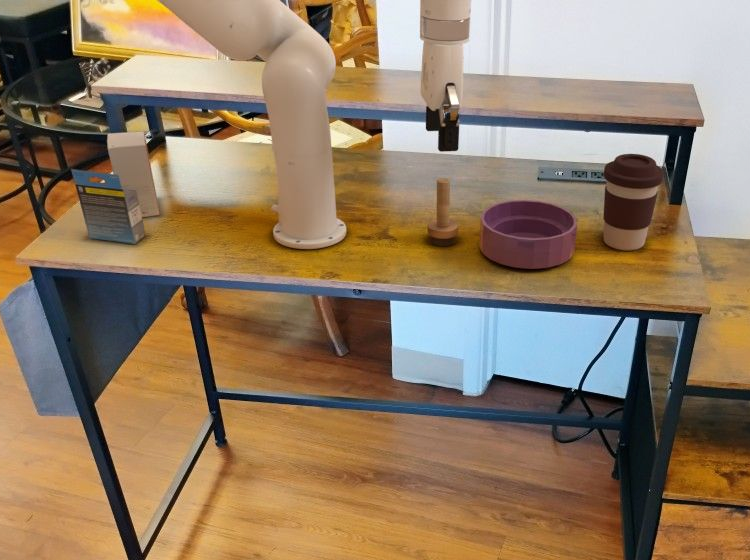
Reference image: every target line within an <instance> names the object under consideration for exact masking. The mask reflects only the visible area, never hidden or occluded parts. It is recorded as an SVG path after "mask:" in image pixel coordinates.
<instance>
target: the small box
mask: <svg viewBox="0 0 750 560" xmlns="http://www.w3.org/2000/svg"><path fill="white" fill-rule="evenodd" d="M106 144H107V151H108V157H109V160H110V161H109V162H110V165H111V169H112V174H117V175H119V179H120V183H121V186H122V188H123V189H130V190H136V192H137V197H138V202H139V206H140V211H141V215H142V218H147V217H154V216H155V217H156V216H159V215H160V208H159V203H158V196H157V192H156V191H157V190H156V185H155V180H154V176H153V170H152V165H151V161H150V155H149V149H148V144H147V139H146V133H145V131H129V132H127V131H126V132H113V133H107V139H106Z"/></svg>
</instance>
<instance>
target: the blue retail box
mask: <svg viewBox="0 0 750 560" xmlns="http://www.w3.org/2000/svg"><path fill="white" fill-rule="evenodd" d="M70 171H71V173H72V178H73V182H74V185H75V186H74V187H75V190H76V192H77V196H78V200H79V204H80V208H81V211H82V215H83V219H84V223H85V227H86V231H87V234H88V238H89V239H91V240H101V241H108V242H109V241H110V242H117V243H125V244H130V245H131V244H132V245H136V244H138V243H139V242H140V241H141V240H143V239H144V238H145V237H146V231H145V230H146V229H145V226H144V220H143V217H142V215H141V211H140V206H139V202H138V197H137V192H136V190H130V189H123V188H122V186H121V183H120V179H119V175H117V174H113V173H107V172H106V173H105V172H98V171H91V170H81V169H75V168H70ZM95 178H97V179H98V180H103V181H104V182H100V181H91V180H90V179H95Z"/></svg>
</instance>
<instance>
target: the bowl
mask: <svg viewBox="0 0 750 560" xmlns="http://www.w3.org/2000/svg"><path fill="white" fill-rule="evenodd" d="M577 230H578V218H577V217H576V215H574V213H573V212H571V211H570V210H568V209H567V208H565V207H563V206H561V205H557V204H555V203H552V202H547V201H541V200H534V199H533V200H532V199H515V200H514V199H513V200H505V201H501V202H497V203H494V204H491V205H490V206H487V207H486V208H485V209H484V210H483V211H482V212H481V214H480V218H479V239H478V241H479V243H478V244H479V245H478V247H479V249H480V251H481V253H482V254H483V255H484V256H485V257H487V258H488V259H489V260H491V261H493V262H495V263H498V264H500V265H503V266H506V267H507V266H508V267H511V268H516V269H525V270H526V269H527V270H534V269H536V270H537V269H548V268H551V267H557V266H559V265H562V264H564V263H566V262H568V261H569V260H570V259H572V257H573V255H575V250H576V242H577V241H576V240H577Z"/></svg>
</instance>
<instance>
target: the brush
mask: <svg viewBox="0 0 750 560" xmlns="http://www.w3.org/2000/svg"><path fill="white" fill-rule="evenodd" d="M450 193H451V180H450V179H449V178H447V177H439V178H437V179H436V218H434V219H431V220H430V221H428V222H427V225H426V226H427V227H426V231H427V234H428V241H429V243H430V244H431V245H433V246H438V247H450V246H453V245H455V244H456V243H457V240H458V239H457V238H458V234H459V226H460V225H459V223H458V222H457V221H456V220H454V219H451V218H450V205H451V204H450V203H451V200H450V196H451V194H450Z"/></svg>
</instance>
